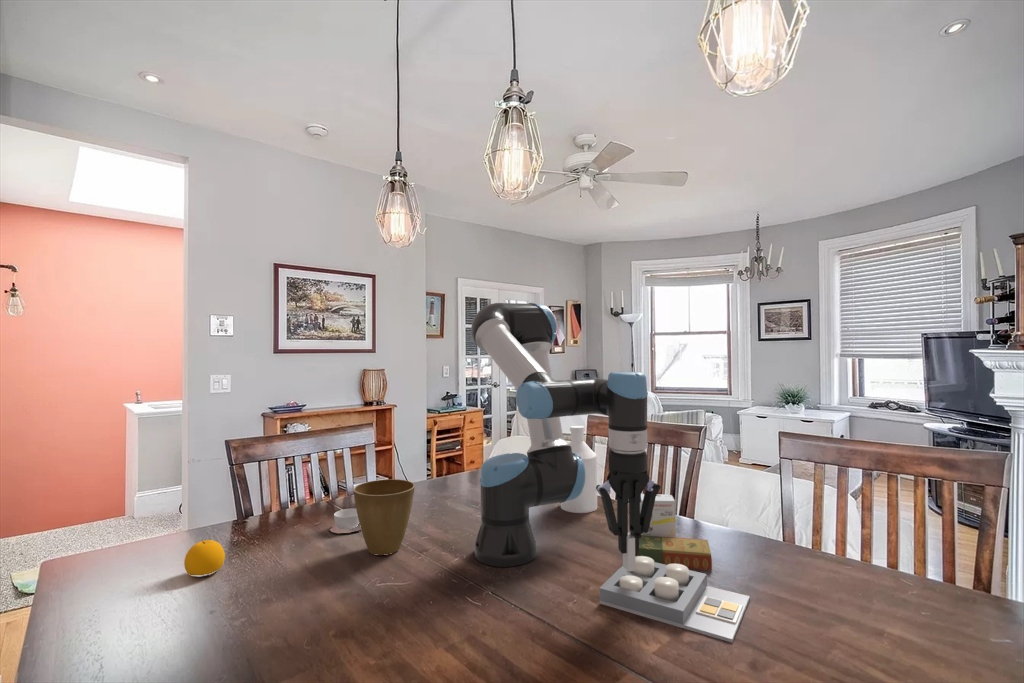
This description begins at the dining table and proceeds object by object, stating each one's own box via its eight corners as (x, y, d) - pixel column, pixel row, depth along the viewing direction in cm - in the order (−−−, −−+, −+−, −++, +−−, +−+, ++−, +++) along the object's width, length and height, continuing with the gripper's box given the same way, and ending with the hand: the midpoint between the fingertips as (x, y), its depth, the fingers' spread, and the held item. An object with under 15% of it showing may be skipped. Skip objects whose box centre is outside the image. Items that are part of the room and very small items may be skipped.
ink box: (641, 547, 123) (640, 499, 124) (638, 539, 128) (637, 493, 128) (677, 548, 122) (675, 500, 123) (673, 540, 127) (671, 494, 127)
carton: (712, 572, 110) (711, 553, 110) (637, 565, 114) (636, 546, 114) (708, 556, 118) (707, 538, 118) (638, 550, 122) (638, 533, 122)
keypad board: (599, 603, 97) (599, 588, 97) (631, 570, 111) (631, 556, 111) (732, 642, 83) (731, 624, 83) (749, 599, 97) (749, 583, 97)
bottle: (556, 502, 161) (554, 424, 161) (592, 500, 162) (590, 423, 162) (564, 514, 149) (562, 430, 149) (602, 512, 150) (601, 429, 151)
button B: (629, 574, 104) (629, 561, 104) (637, 566, 107) (636, 554, 107) (650, 579, 101) (649, 566, 101) (657, 571, 105) (656, 559, 105)
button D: (662, 582, 100) (662, 569, 100) (669, 574, 103) (669, 561, 103) (685, 588, 97) (685, 575, 97) (691, 579, 101) (691, 566, 101)
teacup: (373, 526, 142) (373, 510, 142) (345, 538, 134) (345, 521, 134) (349, 521, 147) (349, 505, 147) (321, 532, 139) (320, 515, 139)
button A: (616, 595, 98) (616, 582, 98) (624, 586, 102) (624, 573, 102) (638, 601, 95) (637, 587, 95) (645, 591, 99) (645, 578, 99)
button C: (651, 597, 94) (650, 583, 94) (658, 588, 98) (658, 574, 98) (674, 604, 92) (674, 589, 92) (681, 594, 95) (681, 580, 95)
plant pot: (370, 568, 114) (369, 498, 115) (344, 549, 126) (343, 486, 126) (426, 550, 124) (425, 486, 124) (397, 534, 135) (396, 475, 136)
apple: (230, 573, 114) (229, 540, 114) (190, 585, 108) (189, 551, 108) (218, 563, 119) (218, 531, 119) (180, 574, 113) (179, 541, 113)
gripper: (603, 455, 94) (604, 580, 94) (667, 452, 96) (668, 573, 97) (590, 447, 101) (591, 562, 102) (649, 444, 104) (650, 557, 104)
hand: (628, 568), depth 99 cm, fingers closed
